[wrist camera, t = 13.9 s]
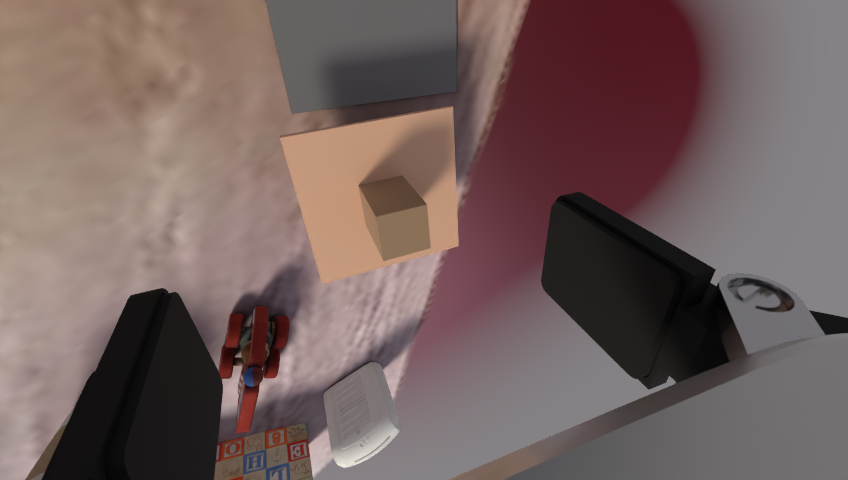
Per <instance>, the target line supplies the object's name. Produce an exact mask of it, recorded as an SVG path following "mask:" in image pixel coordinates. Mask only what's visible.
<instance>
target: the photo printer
mask: <svg viewBox="0 0 848 480" xmlns="http://www.w3.org/2000/svg"><path fill="white" fill-rule="evenodd" d="M323 399H324V405H325V412H326V419H327V425H328V432H329V439H330V445H331V452H332V455H333V458H334V460H335V462H336V463H337V465H339V466H342V467H343V468H346V467H350V466H353V465H356V464H359V463H361V462H363V461H365V460H367V459H368V458H370V457H372V456H373V455H375V454H376V453H378V452H379V451H380V450H381V449H383V448H384V447H385V446H386V445H387V444H389V443H390V441H392V440H393V438H394V437H395V436H396V435H397V434H398V432H399V431H400V428H401V427H400V422H399V419H398V415H397V412H396V409H395V406H394V403H393V400H392V397H391V394H390V390H389V387H388V384H387V381H386V378H385V375H384V372H383V369H382V366H381V365H380V364H379V363H377V362H370V363H368V364H366V365H364V366H363V367H361V368H360V369H358V370H356V371H355V372H353V373H352V374H350V375H349V376H347V377H346V378H344V379H343V380H341V381H340V382H338V383H337V384H335V385H334V386H332V387H331V388H329V389H328V390H327V391H326V392H325V393H324V394H323Z"/></svg>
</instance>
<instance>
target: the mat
mask: <svg viewBox="0 0 848 480" xmlns="http://www.w3.org/2000/svg"><path fill="white" fill-rule="evenodd" d="M266 4H267V8H268V13H269V17H270V21H271V26H272V30H273V34H274V38H275V43H276V47H277V51H278V56H279V60H280V64H281V69H282V73H283V77H284V82H285V86H286V90H287V95H288V99H289V103H290V107H291V112H292V114H293V113H301V112H308V111H316V110H323V109H331V108H338V107H345V106H353V105H360V104H368V103H375V102H383V101H390V100H398V99H405V98H412V97H420V96H427V95H435V94H442V93H450V92H457V27H456V0H266Z"/></svg>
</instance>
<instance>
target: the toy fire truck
mask: <svg viewBox="0 0 848 480" xmlns="http://www.w3.org/2000/svg"><path fill="white" fill-rule="evenodd" d="M243 319H244V316H243V314H235V313H233V314H230V317H229V323H228V328H227V334H226V340H225V345H224V346H223V347H222V351H221V358H220V364H219V371H218V372H219V373H220V376H221V379H229V378H231V376H232V371H233V366H234V365H235V366H241V365H243V366H242V371H241V375H240V380H239V384H238V394H239V398H238V409H237V418H236V430H235V432H236V433H242V432H248V431H250V428H251V424H252V419H253V415H254V411H255V406H256V402H257V398H258V393H259V384H260V383H261V381H262V380H263V375H264V378H275V377H276V376H277V373H278V369H279V362H280V349H283V348H284V347H285V346H286V343H287V339H288V333H289V318H288V317H287V316H276V317H275V320H274V322H272V321H270V322H268V308H267V307H262V306H255V308H254V312H253V317H252V322H251V325H250V327H249V326H242V324H243ZM239 344H240V346H241V348H242V352H241V356H242V358H235V352H236V347H238V346H239ZM271 345H272V346H271ZM262 368H263V370H262Z"/></svg>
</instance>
